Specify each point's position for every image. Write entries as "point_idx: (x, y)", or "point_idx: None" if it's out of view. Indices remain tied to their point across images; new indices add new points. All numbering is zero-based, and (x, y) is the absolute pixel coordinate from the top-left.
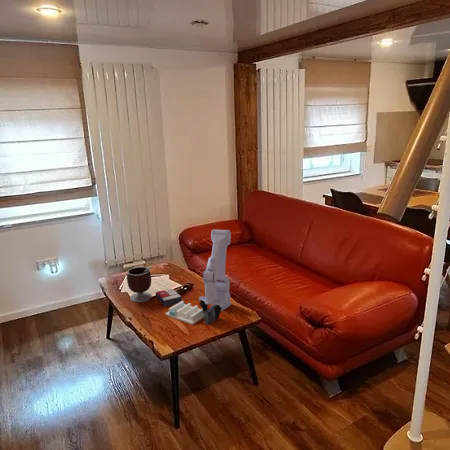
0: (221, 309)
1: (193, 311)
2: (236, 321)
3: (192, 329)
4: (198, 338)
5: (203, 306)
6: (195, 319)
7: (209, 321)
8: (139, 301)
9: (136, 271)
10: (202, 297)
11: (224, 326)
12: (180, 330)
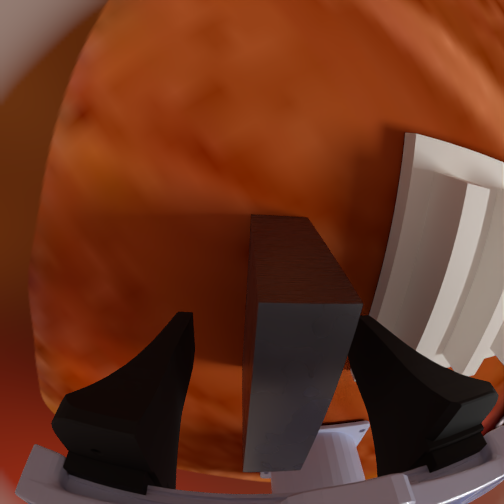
0: None
1: (474, 310)
2: (88, 366)
3: (353, 46)
4: None
5: (419, 391)
6: (422, 216)
7: (250, 248)
8: None
9: None
10: (477, 495)
11: (93, 269)
12: (432, 7)
